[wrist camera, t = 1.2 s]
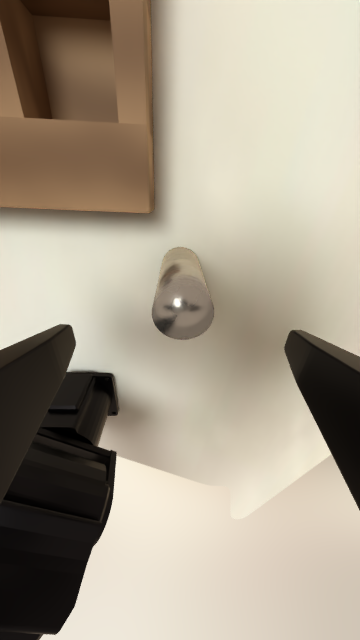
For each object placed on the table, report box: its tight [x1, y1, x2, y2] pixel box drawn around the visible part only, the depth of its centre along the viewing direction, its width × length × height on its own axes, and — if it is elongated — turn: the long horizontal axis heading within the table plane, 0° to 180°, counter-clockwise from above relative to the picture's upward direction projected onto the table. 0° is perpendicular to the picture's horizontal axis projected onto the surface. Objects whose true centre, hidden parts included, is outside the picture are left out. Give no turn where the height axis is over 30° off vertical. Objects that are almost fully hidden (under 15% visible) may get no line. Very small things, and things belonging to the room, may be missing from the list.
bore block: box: [0, 0, 154, 213], centre depth 10 cm, size 12×14×4 cm
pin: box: [152, 247, 214, 340], centre depth 14 cm, size 3×3×8 cm
